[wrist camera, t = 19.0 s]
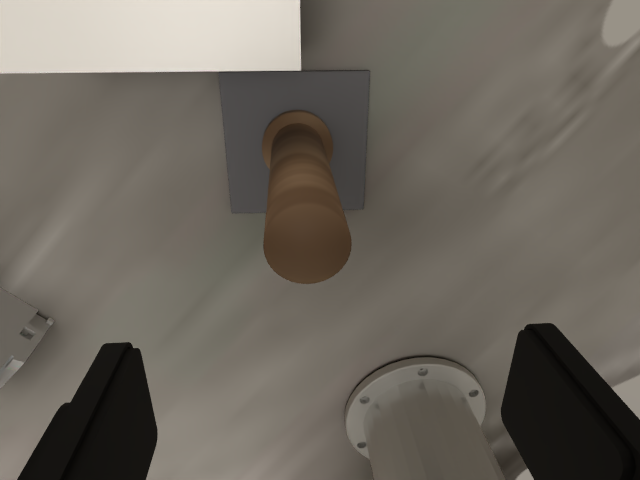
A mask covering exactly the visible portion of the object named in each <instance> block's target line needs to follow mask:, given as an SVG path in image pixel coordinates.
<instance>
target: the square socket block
mask: <svg viewBox="0 0 640 480" xmlns="http://www.w3.org/2000/svg"><path fill="white" fill-rule="evenodd" d="M198 71H301V35H300V0H0V73H84V72H198Z"/></svg>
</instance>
